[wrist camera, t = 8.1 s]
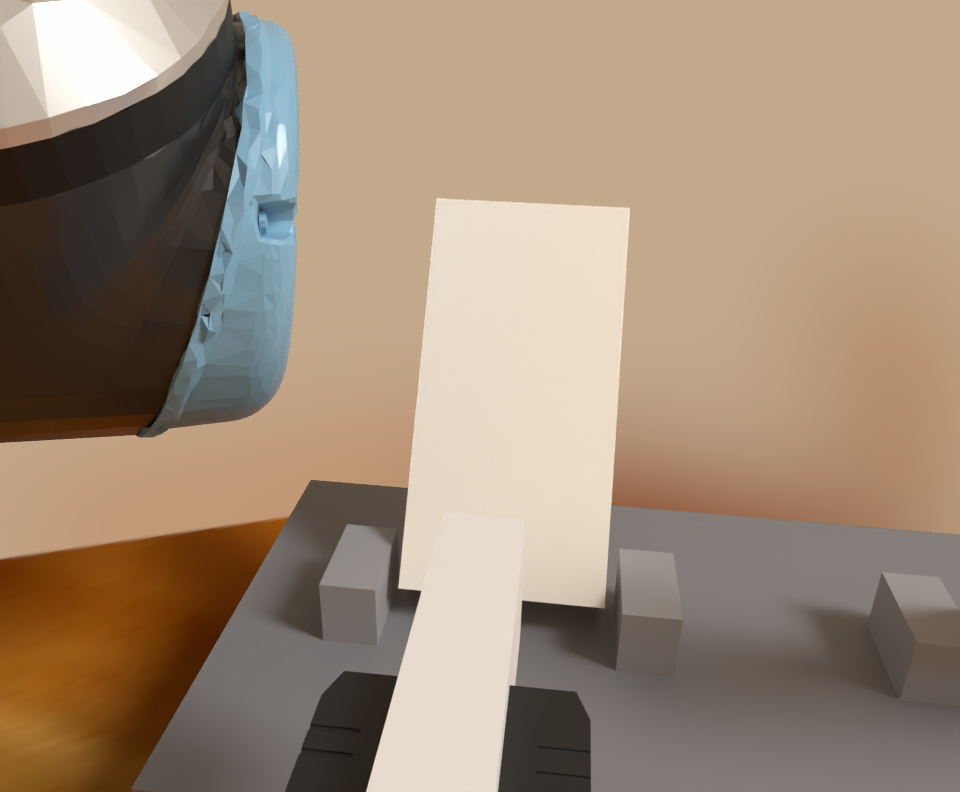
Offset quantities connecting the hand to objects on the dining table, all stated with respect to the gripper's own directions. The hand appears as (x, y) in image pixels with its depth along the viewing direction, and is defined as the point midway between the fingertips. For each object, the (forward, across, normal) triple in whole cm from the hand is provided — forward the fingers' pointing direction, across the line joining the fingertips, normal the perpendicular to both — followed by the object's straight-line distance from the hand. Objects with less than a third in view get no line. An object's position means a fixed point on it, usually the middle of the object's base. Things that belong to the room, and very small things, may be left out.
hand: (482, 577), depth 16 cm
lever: (+7, 0, -7) cm, 10 cm away
